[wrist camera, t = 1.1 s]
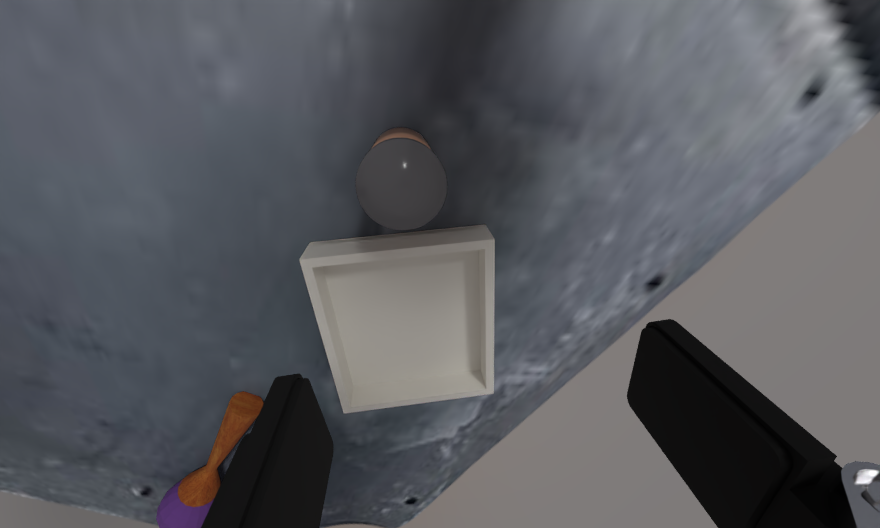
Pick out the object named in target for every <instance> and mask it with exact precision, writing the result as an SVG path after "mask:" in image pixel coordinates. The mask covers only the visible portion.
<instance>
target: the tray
mask: <svg viewBox="0 0 880 528" xmlns="http://www.w3.org/2000/svg"><path fill="white" fill-rule="evenodd" d="M299 261H300V264H301V268H302V271H303V274H304V278H305V281H306V285H307V288H308V292H309V295H310V299H311V302H312V306H313V309H314V312H315V316H316V319H317V323H318V326H319V330H320V333H321V337H322V340H323V344H324V347H325V350H326V354H327V357H328V361H329V364H330V368H331V371H332V375H333V378H334V382H335V385H336V389H337V392H338V395H339V399H340V402H341V406H342V409H343V413H344V414H345V413H352V412H360V411H367V410H375V409H382V408H390V407H397V406H405V405H412V404H420V403H427V402H435V401H442V400H449V399H457V398H464V397H472V396H479V395H487V394H494V278H495V239H494V237H493V236H492V234H491V233H490V231H489V229H488V228H487V226H486V225H485V224H484V225H474V226H464V227H454V228H444V229H435V230H425V231H415V232H405V233H395V234H386V235H376V236H366V237H356V238H346V239H337V240H327V241H317V242H310V243H309V245H308V246H307V248H306V249H305V251H304V253H303V254H302V256H301V258H300V259H299Z"/></svg>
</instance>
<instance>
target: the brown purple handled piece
mask: <svg viewBox="0 0 880 528" xmlns="http://www.w3.org/2000/svg"><path fill="white" fill-rule="evenodd" d="M262 406H263V400H262V399H261V397H259V396H256V395H253V394H250V393H247V392H240V393H237V394H235V395H234V396H233V397H232V398H231V400H230V402H229V405H228V407H227V410H226V413H225V416H224V418H223V421H222V424H221V427H220V429H219V432H218V435H217V438H216V440H215V443H214V446H213V449H212V451H211V454H210V457H209V460H208V462H207V465H206V466H204V467H202V468H200V469H198V470H196V471H194V472H192V473H190V474H188V475H187V476H186V477H185V478H184V479H183V480H181V481H180V482H178V483H176V484H175V485H174V486H173V487H172V488H171V489H169V490H168V491H167V493H166V495H165V496H164V498H163V500H162V501H161V503H160V505H159V507H158V511H157V518H156V519H157V522H158V525H159V528H201V526H202V524H203V522H204V520H205V518H206V515H207V513H208V511H209V509H210V507H211V505H212V502H213V500H214V498H215V496H216V494H217V492H218V489H219V487H220V483H221V481H220V478H219V474H218V470H217V468H218V466H219V465H220V464H221V463H222V461H223V460H224V459H225V457H226V456H227V455H228V454H229V452H230V451H231V450H232V449H233V447H234V446H235V445H236V443H237V442H238V441H239V440H240V438H241V437H242V436H243V435H244V433H245V432H246V431H247V429H248V428H249V427H250V426H251V424H252V423H253V422H254V421H255V419H256V418H257V417H258V415H259V413H260V411H261V408H262Z"/></svg>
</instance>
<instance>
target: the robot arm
mask: <svg viewBox="0 0 880 528" xmlns="http://www.w3.org/2000/svg"><path fill="white" fill-rule="evenodd" d="M627 399H628V403H629V405H630V407H631V408H632V410H633V411H634V412H635V414H636V415H637V417H638V418H639V419H640V421H641V422H642V423H643V425H644V426H645V428H646V429H647V430H648V432H649V433H650V434H651V436H652V437H653V439H654V440H655V441H656V443H657V444H658V446H659V447H660V448H661V449H662V451H663V452H664V454H665V455H666V457H667V458H668V459H669V461H670V462H671V463H672V465H673V466H674V468H675V469H676V470H677V472H678V473H679V474H680V476H681V477H682V479H683V480H684V481H685V482H686V484H687V485H688V487H689V488H690V490H691V491H692V492H693V494H694V495H695V497H696V498H697V499H698V500H699V502H700V503H701V505H702V506H703V507H704V509H705V510H706V512H707V513H708V514H709V516H710V517H711V519H712V520H713V521H714V523H715V524H716V525H717V527H718V528H880V465H877V464H874V463H869V462H856V461H855V462H852V463H848V464H846V465H845V466H844V467H843V468H842V467H840V466H839V465H838V464H837V463H836V462H834V460H835V458H836V457H837V456H836V455H835V454H834V453H832V452H831V451H830V450H829V449H828V448H826V447H825V446H824V445H823V444H821V443H820V442H819V441H818V440H816V438H814V437H813V436H812V435H811V434H810V433H809V432H807V431H806V430H805V429H804V428H803V427H801V426H800V425H799V424H798V423H797V422H795V421H794V420H793V419H792V418H790V417H789V416H788V415H787V414H786V413H785V412H783V411H782V410H781V409H780V408H779V407H777V406H776V405H775V404H774V403H773V402H772V401H770V400H769V399H768V398H767V397H765V396H764V395H763V394H762V393H761V392H760V391H758V390H757V389H756V388H755V387H754V386H752V385H751V384H750V383H749V382H747V381H746V380H745V379H744V378H743V377H742V376H741V375H739V374H738V373H737V372H735V371H734V370H733V369H732V368H731V367H730V366H729V365H727V364H726V363H725V362H724V361H723V360H721V359H720V358H719V357H718V356H717V355H715V354H714V353H713V352H712V351H711V350H709V349H708V348H707V347H706V346H705V345H703V344H702V343H701V342H700V341H699V340H698V339H696V338H695V337H694V336H693V335H692V334H690V333H689V332H688V331H687V330H686V329H684V328H683V327H682V326H681V325H680V324H678V323H677V322H676V321H674V320H671V319H668V320H661V321H655V322H649V323H648V324H647V326H646V328H644V329H643V330H642V332H641V336H640V341H639V344H638V349H637V353H636V358H635V362H634V366H633V371H632V375H631V379H630V384H629V388H628V392H627ZM332 457H333V441H332V438H331V435H330V433H329V430H328V428H327V425H326V422H325V420H324V417H323V415H322V412H321V409H320V407H319V404H318V402H317V399H316V396H315V394H314V391H313V389H312V386H311V384H310V381H309V379H308V378H304V379H303V378H302V376H301V375H300V374H293V375H286V376H280V377H277V378H275V380H274V381H273V384H272V386H271V388H270V390H269V393H268V395H267V397H266V399H265V402H264V404H263V406H262V408H261V411H260V413H259V415H258V417H257V420H256V422H255V424H254V426H253V429H252V431H251V433H250V434H247V435H246V436H245V437H244V438H243V439H242V441H241V442H240V444H239V446H238V448H237V450H236V452H235V455H234V457H233V459H232V461H231V463H230V465H229V468H228V470H227V472H226V474H225V476H224V478H223V481H222V483H221V485H220V487H219V489H218V492H217V494H216V496H215V498H214V500H213V502H212V505H211V507H210V509H209V511H208V513H207V515H206V518H205V520H204V522H203V524H202V526H201V528H319V526H320V521H321V515H322V510H323V505H324V500H325V494H326V489H327V484H328V478H329V473H330V468H331V463H332Z"/></svg>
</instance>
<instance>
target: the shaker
mask: <svg viewBox="0 0 880 528" xmlns="http://www.w3.org/2000/svg"><path fill="white" fill-rule="evenodd" d="M356 193H357V197H358V200H359V202H360V204H361V206H362V208H363V209H364V211H365V212H366V214H367V215H368V216H369V217H370V218H371V219H373V220H374V221H375V222H377V223H378V224H380V225H382V226H384V227H386V228H389V229H394V230H412V229H416V228H419V227H421V226H423V225H425V224H427V223H428V222H430V221H431V220H432V219H433V218H434V217H435V216H436V215H437V214H438V213H439V211H440V210H441V208H442V206H443V204H444V202H445V199H446V195H447V177H446V174H445V170H444V168H443V166H442V164H441V162H440V160H439V159H438V157H437V156H436V155H435V153H434V152H433V151H432V150H431V148H430V146H429V144H428V143H427V141H426V140H425V139H424V137H423V136H422V135H420V134H419V133H418V132H416V131H414V130H412V129H409V128H404V127H397V128H392V129H389V130H387V131H385V132H384V133H382V134H381V135H380V136H379V137H378V138H377V139H376V141H375V142H374V144H373V146H372V148H371V149H370V150H369V152H368V153H367V154H366V155H365V157H364V158H363V160H362V162H361V164H360V166H359V168H358V171H357V175H356Z"/></svg>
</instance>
